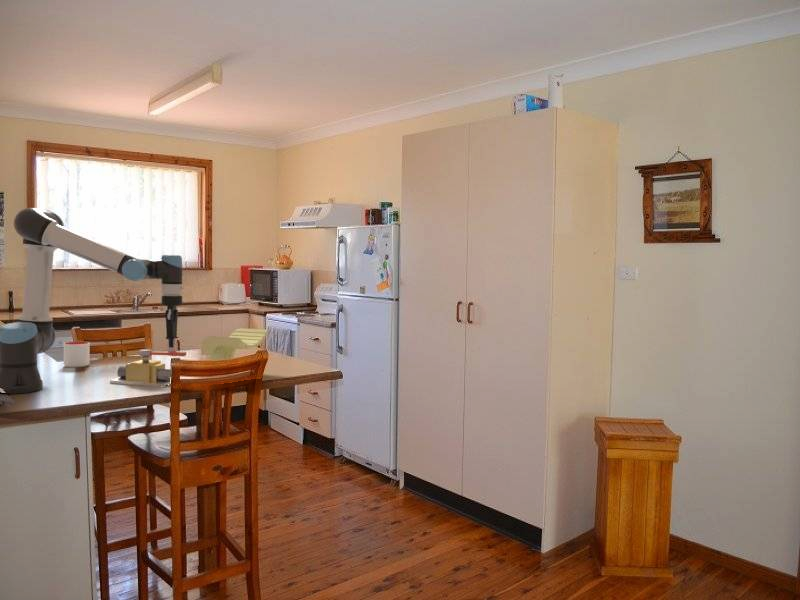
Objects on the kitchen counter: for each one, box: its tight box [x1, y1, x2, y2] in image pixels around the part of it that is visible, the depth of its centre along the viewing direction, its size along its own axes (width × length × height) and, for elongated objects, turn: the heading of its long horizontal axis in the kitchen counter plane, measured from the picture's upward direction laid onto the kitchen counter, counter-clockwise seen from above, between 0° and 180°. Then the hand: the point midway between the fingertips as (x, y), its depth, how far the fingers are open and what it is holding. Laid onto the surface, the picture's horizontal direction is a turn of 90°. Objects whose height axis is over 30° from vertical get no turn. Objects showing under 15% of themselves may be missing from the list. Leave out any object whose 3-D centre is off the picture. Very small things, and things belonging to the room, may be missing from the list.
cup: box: [63, 341, 91, 368], centre depth 270 cm, size 10×10×10 cm
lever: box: [139, 349, 187, 357], centre depth 241 cm, size 17×4×2 cm, turn 92°
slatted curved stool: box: [200, 327, 269, 361], centre depth 262 cm, size 30×16×18 cm, turn 171°
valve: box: [109, 356, 172, 388], centre depth 241 cm, size 22×12×10 cm, turn 80°
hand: (171, 355), depth 243 cm, fingers closed
